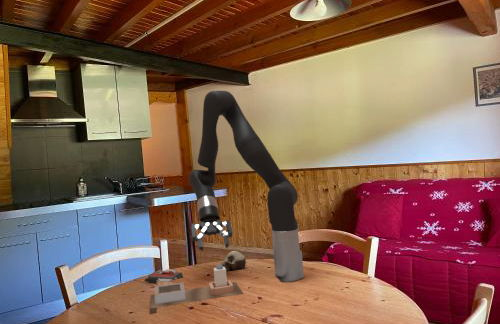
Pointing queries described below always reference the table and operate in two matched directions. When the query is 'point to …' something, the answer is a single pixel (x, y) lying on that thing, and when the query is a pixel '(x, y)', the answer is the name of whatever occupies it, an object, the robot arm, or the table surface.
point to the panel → (195, 296)
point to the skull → (234, 261)
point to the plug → (220, 276)
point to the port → (169, 293)
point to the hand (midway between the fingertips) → (214, 248)
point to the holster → (221, 288)
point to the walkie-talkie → (163, 276)
